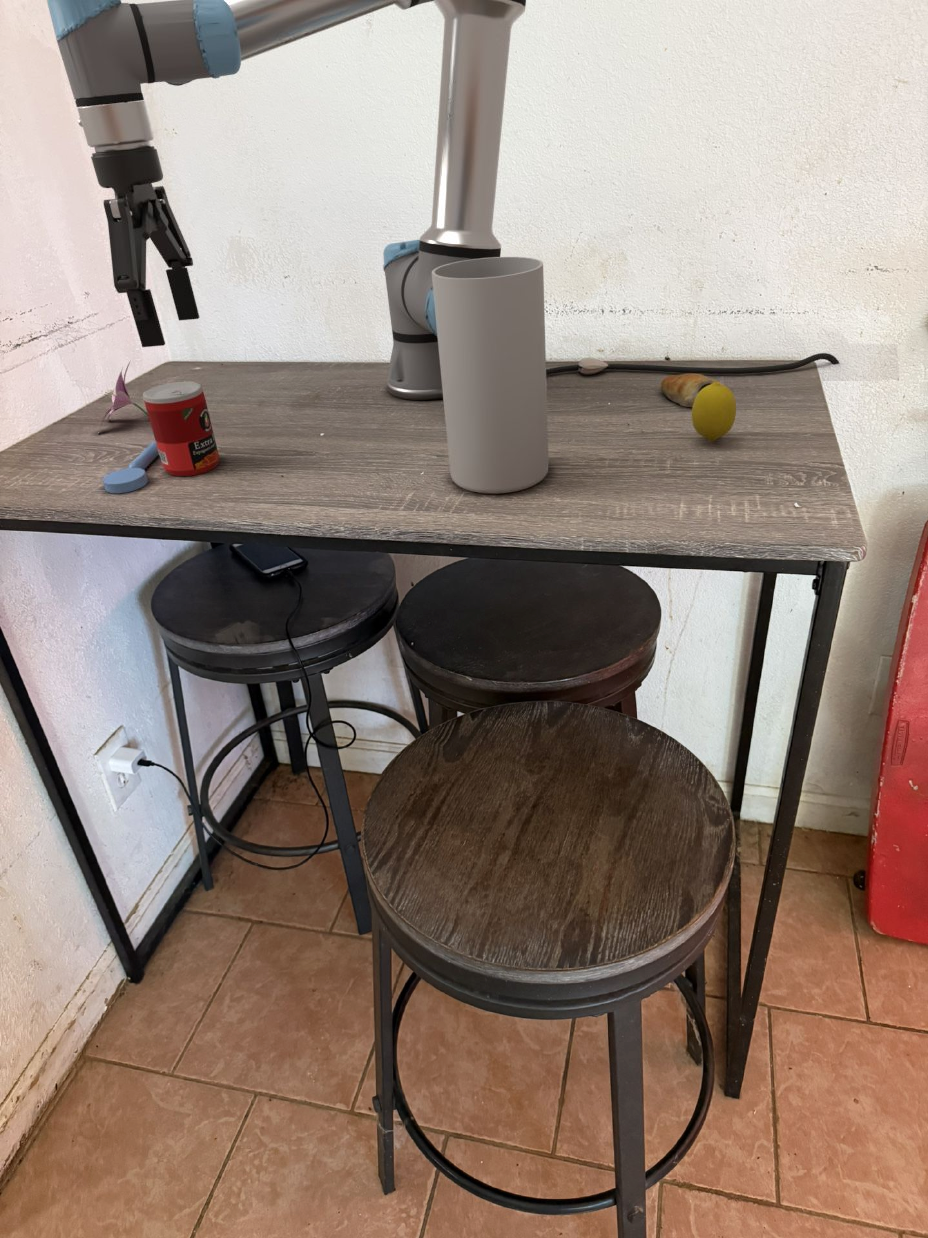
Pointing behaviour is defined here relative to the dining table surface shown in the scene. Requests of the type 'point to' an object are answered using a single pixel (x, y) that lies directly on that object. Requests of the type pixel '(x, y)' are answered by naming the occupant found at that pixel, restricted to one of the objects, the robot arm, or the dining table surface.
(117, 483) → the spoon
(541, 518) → the dining table surface
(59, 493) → the dining table surface
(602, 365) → the seashell
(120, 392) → the lily
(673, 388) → the pastry
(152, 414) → the canned food
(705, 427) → the lemon
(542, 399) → the cylinder vase
